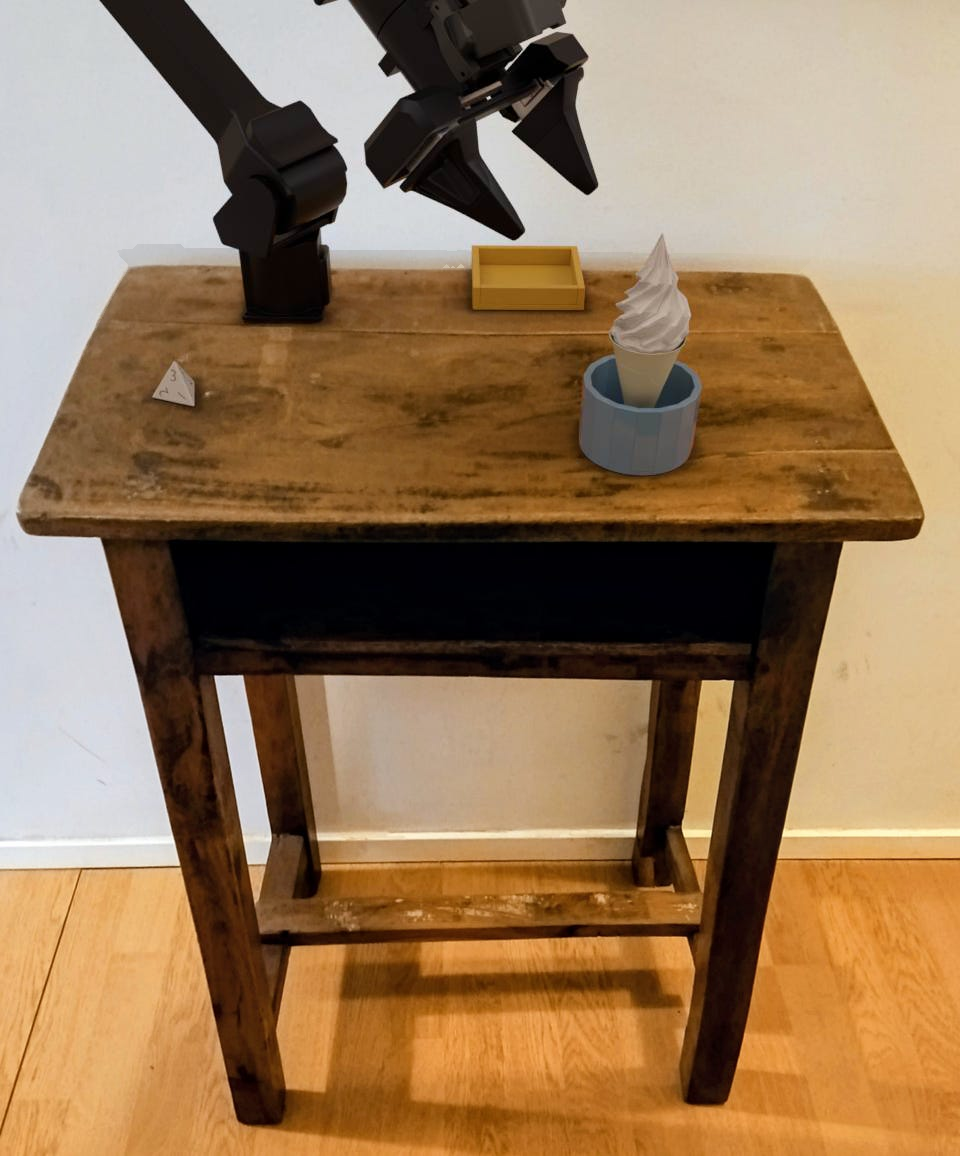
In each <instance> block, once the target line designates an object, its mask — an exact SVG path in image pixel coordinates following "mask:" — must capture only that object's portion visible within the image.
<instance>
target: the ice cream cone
mask: <svg viewBox="0 0 960 1156" xmlns="http://www.w3.org/2000/svg"><path fill="white" fill-rule="evenodd" d="M664 235H665V234H664V233H663V232H662V233H661V234H660V236H659V238H658V240H657V242H656V243H655V245H654V247H653V249H652V251H651V252H650V254H649V256H648V258H647V259H646V261H645V263H644V265H643V266H642V267H641V268H640V269H639V270H638V271H637V272H636V273H635V276H636V279H637V280H638V282H636V283H635V284H634V285H633V286H632V287H630V288H628V289H627V290H625V291H624V292H623V294H626V295H627V296H628V297H627V298H626V299H624V300H621V301H619V302H616V303H615V307H616V308H617V310H618V311H621V312H622V313H623V314H620V315H619V316H617V318H615V319H613V321H612V323H613V325H612V326H611V327H610V329H609V331H608V337H609V339H610V341H611V343H612V348H613V353H614V354H615V359H616V364H617V369H618V374H619V379H620V384H621V389H622V394H623V399H624V404H625V405H627V406H632V407H636V408H654V406H655V404H656V402H657V400H658V397H659V395H660V393H661V391H662V388H663V386H664V384H665V382H666V380H667V378H668V375H669V373H670V371H671V369H672V367H673V365H674V362H675V360H677V358H678V356H679V354H680V351H682V350H681V349H682V348H684V346H685V344H686V342H687V336H688V335H689V334H690V320H691V317H692V313H691V309H690V306H689V305H690V304H689V302H688V298H687V297H686V295H684V294H683V293H682V292H681V291H680V290H679V289H678V281H679V279H680V278H679V276H678V274H677V272H676V270H675V268H674V266H673V264H672V260H671V258H670V255H669V252H668V249H667V248H668V247H667V244H666V240H665V236H664Z"/></svg>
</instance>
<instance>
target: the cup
mask: <svg viewBox="0 0 960 1156" xmlns="http://www.w3.org/2000/svg"><path fill="white" fill-rule="evenodd" d="M581 387H582V388H581V397H580V398H581V399H580V411H579V423H578V444H579V447H580V450H581V451H582V453H583V454H584V456H586V457H587V458H588V460H590V461H591V462H593V464H596V465H598V466H599V467H601V468H603V469H606V470H608V471H610V472H614V473H617V474H618V473H619V474H621V475H622V474H623V475H629V476H653V475H654V476H655V475H660V474H664V473H668V472H671V471H674V470H676V469H678V468H679V467H681V466H682V465H683V464H685V463H686V461H688V459H689V457H690V456H691V453H692V448H693V447H694V440H695V436H696V435H695V434H696V429H697V424H698V423H697V422H698V416H699V410H700V403H701V398H702V397H701V396H702V390H703V386H702V382H701V380H700V377H699V375H698V373H696V372H695V371H694V369H692V368H691V367H690V366H688V365H687V364H686V363H684V362H681V361H679V360H677V359H676V360H675V362H674V365H673V367H672V369H671V371H670V373H669V375H668V378H667V380H666V382H665V384H664V386H663V388H662V391H661V393H660V395H659V397H658V400H657V402H656V404H655V406H654V408H636V407H632V406H627V405H625V404H624V399H623V394H622V389H621V384H620V379H619V374H618V369H617V364H616V359H615V353H614V354H610V355H605V356H603V357H601V358H599V359H597V360H596V361H593V362H592V363H590V364H589V365H588V367H587V369H586V370H585V372H584V374H583V375H582V385H581Z"/></svg>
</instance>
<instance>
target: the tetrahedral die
mask: <svg viewBox="0 0 960 1156" xmlns="http://www.w3.org/2000/svg"><path fill="white" fill-rule="evenodd" d="M152 398H153V399H157V400H160V401H167V402H170V403H175V404H179V405H184V406H190V407H195V404H196V403H195V381H194V380H193V379H192V377H191V376H189V374H188V373H187V372H186V371H185V370H184V369H183V368H182V367H181V366H180V365H179V363H178V362H177V361H175V360H173V362H172V363H171V365H170V367H169V368H168V370H167V372H166V373H165V375H164V376H163V378H162V380H161V382H160V383H159V385H158V386H157V388H156V390H155V391H154V393H153V395H152Z"/></svg>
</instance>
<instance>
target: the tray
mask: <svg viewBox="0 0 960 1156" xmlns="http://www.w3.org/2000/svg"><path fill="white" fill-rule="evenodd" d="M585 285H586V284H585V280H584V276H583V270H582V265H581V260H580V255H579V249H578V246H577V245H484V244H483V245H482V244H481V245H480V244H479V245H477V244H476V245H475V244H473V245H471V297H472V298H471V301H472V302H471V303H472V304H471V305H472V310H477V311H478V310H479V311H481V310H483V311H485V310H487V311H488V310H490V311H492V310H493V311H495V310H496V311H498V310H499V311H515V310H516V311H584V309H585V307H584V306H585V296H586V286H585Z"/></svg>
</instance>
